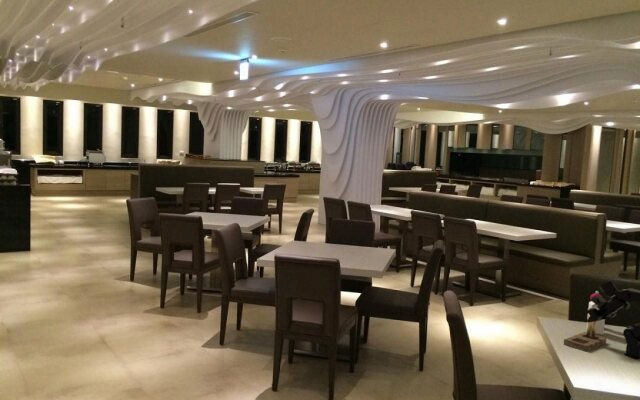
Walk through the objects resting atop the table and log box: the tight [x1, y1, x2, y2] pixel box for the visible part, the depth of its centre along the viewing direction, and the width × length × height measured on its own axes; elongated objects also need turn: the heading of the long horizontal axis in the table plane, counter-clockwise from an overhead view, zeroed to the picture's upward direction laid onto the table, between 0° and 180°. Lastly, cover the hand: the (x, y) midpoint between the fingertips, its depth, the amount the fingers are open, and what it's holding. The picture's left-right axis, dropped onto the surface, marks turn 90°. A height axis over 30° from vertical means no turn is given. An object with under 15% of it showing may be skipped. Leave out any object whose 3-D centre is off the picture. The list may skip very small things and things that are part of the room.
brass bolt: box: [586, 307, 598, 337], centre depth 273 cm, size 5×5×14 cm
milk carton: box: [586, 300, 606, 335], centre depth 290 cm, size 7×7×19 cm
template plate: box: [563, 331, 607, 352], centre depth 270 cm, size 22×11×2 cm, turn 129°
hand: (589, 321), depth 274 cm, fingers closed on brass bolt, 4 cm apart
